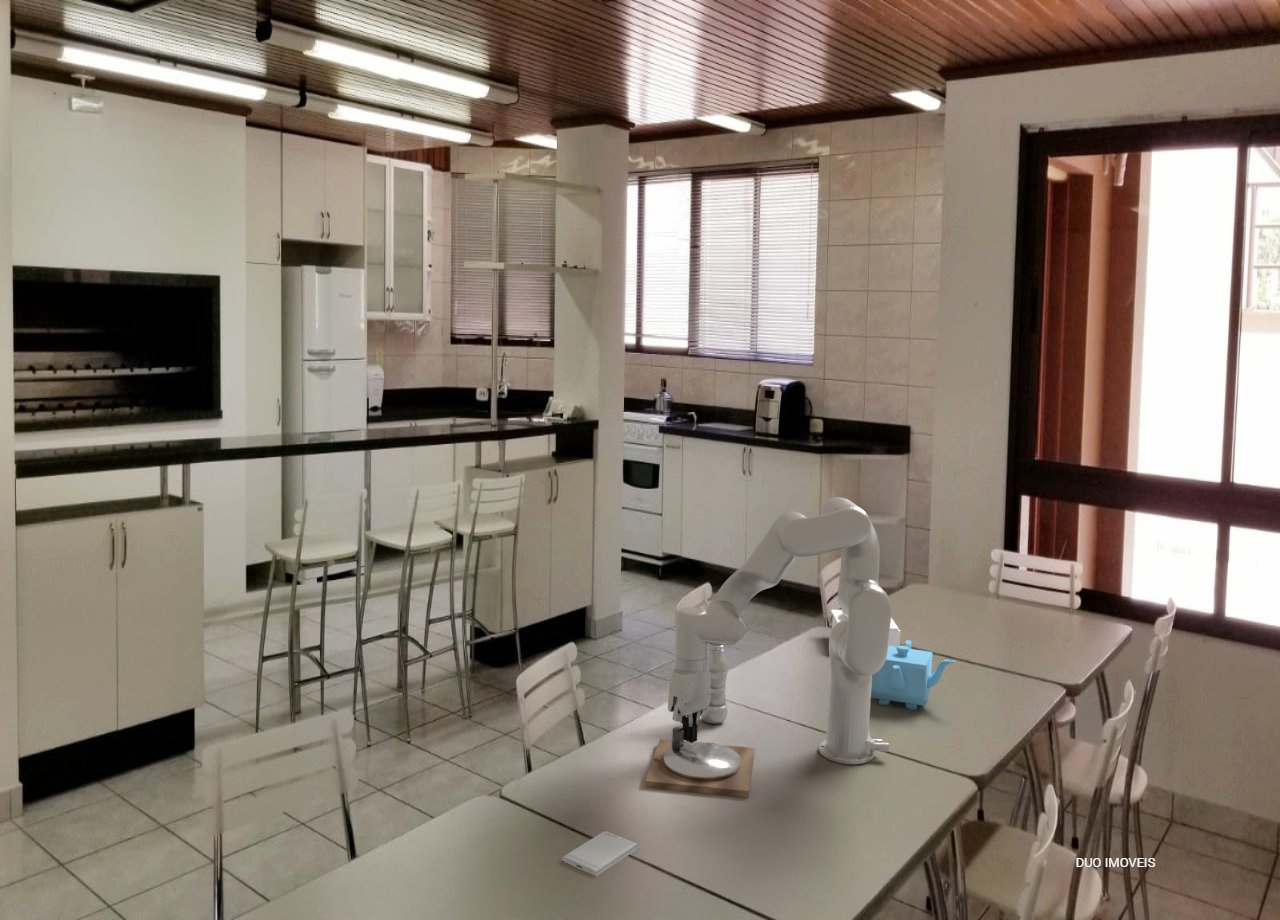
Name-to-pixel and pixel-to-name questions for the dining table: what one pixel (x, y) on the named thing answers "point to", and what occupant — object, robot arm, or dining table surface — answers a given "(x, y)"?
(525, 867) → the dining table surface
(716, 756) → the dial
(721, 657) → the plastic bottle
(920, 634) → the dining table surface
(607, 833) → the hard drive
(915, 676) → the teakettle
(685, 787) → the dial base
